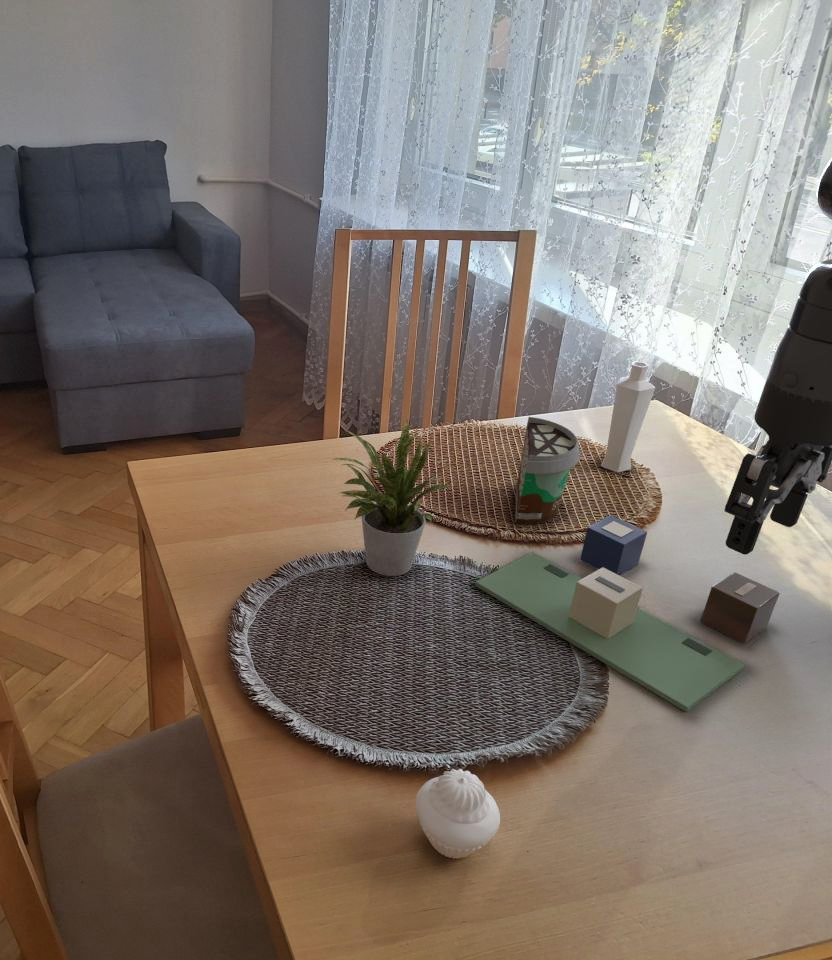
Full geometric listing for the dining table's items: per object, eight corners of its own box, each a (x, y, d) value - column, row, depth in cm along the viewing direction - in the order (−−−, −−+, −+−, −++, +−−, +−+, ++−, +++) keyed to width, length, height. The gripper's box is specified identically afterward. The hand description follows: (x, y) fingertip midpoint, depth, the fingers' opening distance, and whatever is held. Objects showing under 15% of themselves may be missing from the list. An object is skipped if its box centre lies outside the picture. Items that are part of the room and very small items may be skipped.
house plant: (328, 520, 108) (335, 401, 100) (441, 529, 106) (458, 408, 98) (319, 586, 96) (327, 457, 88) (447, 599, 93) (467, 467, 85)
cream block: (593, 601, 92) (602, 566, 89) (633, 622, 88) (643, 586, 86) (567, 616, 89) (576, 581, 87) (607, 639, 86) (617, 603, 84)
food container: (569, 537, 104) (585, 464, 99) (515, 529, 105) (528, 457, 100) (565, 488, 114) (580, 420, 109) (516, 482, 115) (528, 414, 111)
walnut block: (722, 606, 91) (734, 570, 89) (766, 627, 88) (780, 591, 86) (699, 621, 89) (711, 585, 87) (744, 644, 86) (757, 608, 84)
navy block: (602, 547, 102) (610, 514, 99) (638, 564, 98) (647, 531, 96) (579, 559, 99) (587, 526, 97) (615, 578, 96) (624, 544, 94)
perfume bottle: (630, 476, 116) (657, 373, 109) (596, 468, 118) (620, 367, 111) (636, 463, 120) (662, 361, 112) (602, 455, 122) (626, 355, 114)
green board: (531, 556, 100) (532, 551, 100) (742, 669, 83) (744, 663, 82) (474, 585, 95) (475, 580, 95) (686, 712, 78) (688, 707, 78)
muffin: (403, 859, 65) (412, 795, 62) (418, 799, 70) (428, 737, 67) (487, 888, 63) (502, 823, 60) (497, 823, 68) (511, 760, 65)
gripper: (826, 415, 70) (763, 579, 77) (901, 377, 76) (836, 530, 84) (732, 386, 75) (682, 541, 83) (810, 352, 82) (757, 499, 90)
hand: (760, 536), depth 84 cm, fingers open, 8 cm apart
